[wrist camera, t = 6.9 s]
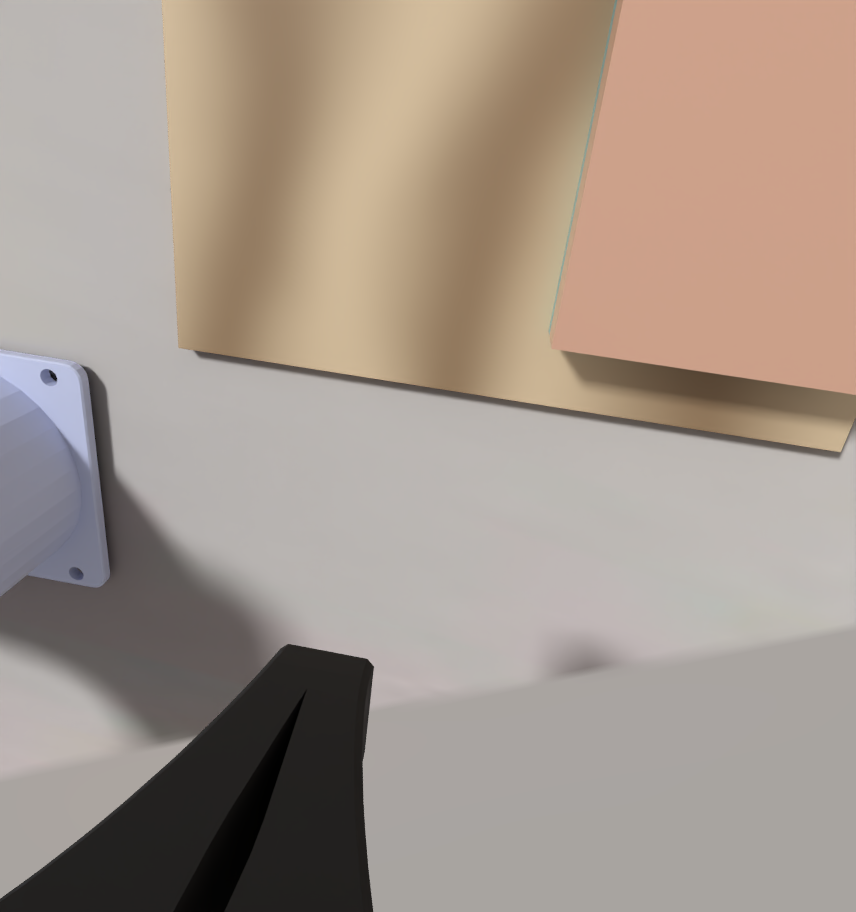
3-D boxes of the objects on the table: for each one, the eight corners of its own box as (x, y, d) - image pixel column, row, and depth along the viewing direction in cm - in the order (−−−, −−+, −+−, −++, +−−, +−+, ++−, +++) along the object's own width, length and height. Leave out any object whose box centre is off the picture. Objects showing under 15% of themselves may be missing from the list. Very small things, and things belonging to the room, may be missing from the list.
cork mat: (186, 343, 18) (178, 347, 18) (142, -700, 11) (126, -737, 10) (832, 444, 17) (840, 452, 17) (1301, -658, 9) (1339, -699, 9)
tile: (551, 348, 15) (865, 396, 14) (641, -88, 11) (1057, -46, 11) (548, 330, 16) (830, 372, 16) (626, -57, 13) (987, -19, 12)
